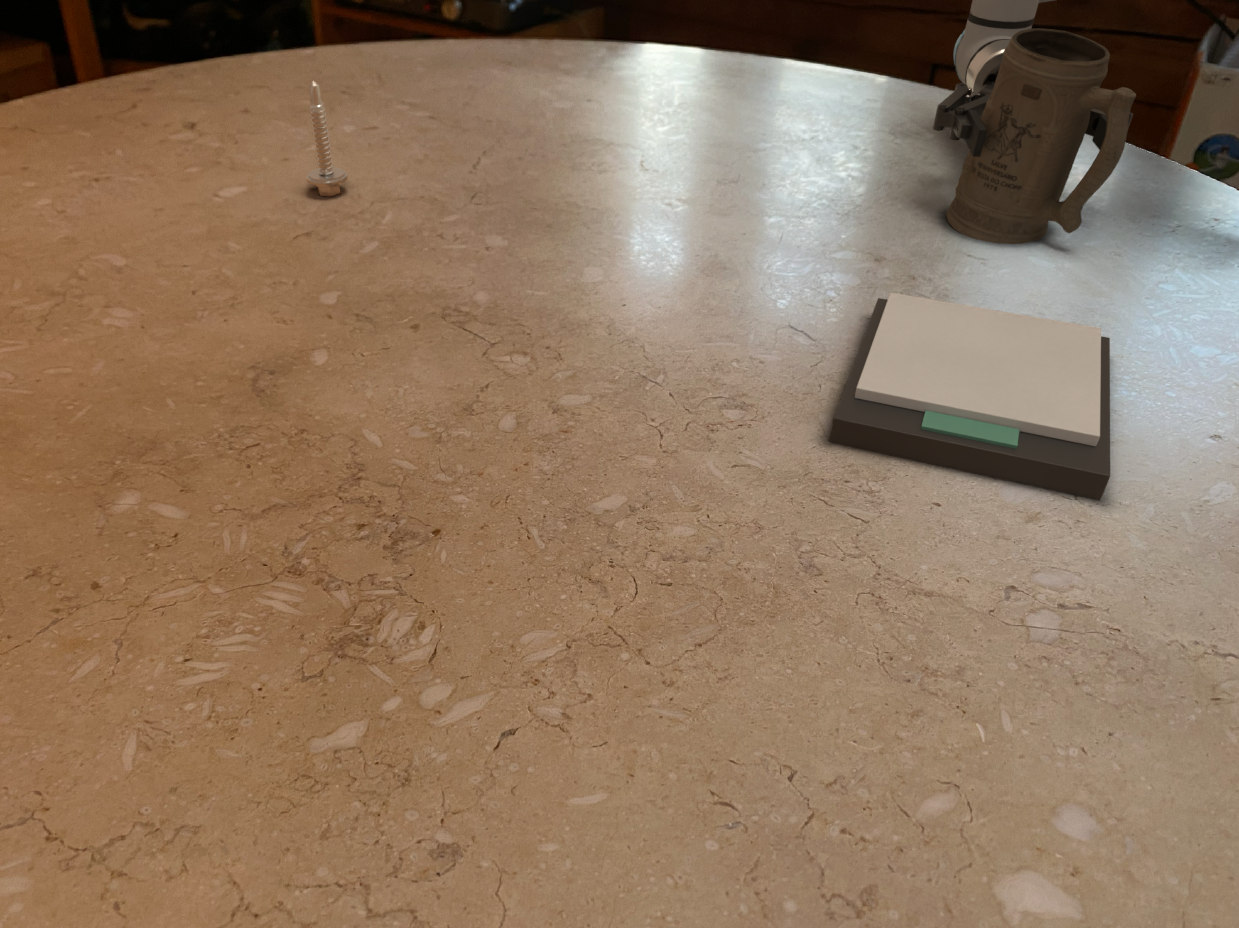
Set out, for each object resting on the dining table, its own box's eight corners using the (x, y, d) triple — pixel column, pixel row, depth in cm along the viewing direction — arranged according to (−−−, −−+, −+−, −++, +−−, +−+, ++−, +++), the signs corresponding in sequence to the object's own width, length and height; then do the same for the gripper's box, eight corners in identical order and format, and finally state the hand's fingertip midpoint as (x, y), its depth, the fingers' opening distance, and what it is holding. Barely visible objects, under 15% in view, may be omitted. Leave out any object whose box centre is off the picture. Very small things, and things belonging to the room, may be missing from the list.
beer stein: (921, 219, 116) (991, 36, 102) (970, 192, 122) (1042, 15, 107) (1045, 282, 109) (1139, 95, 95) (1091, 250, 115) (1186, 69, 100)
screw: (341, 201, 123) (303, 199, 123) (355, 186, 127) (317, 184, 127) (326, 88, 115) (284, 85, 115) (340, 75, 118) (300, 73, 119)
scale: (1098, 367, 93) (1113, 327, 90) (1097, 508, 77) (1115, 464, 74) (872, 326, 99) (880, 287, 96) (827, 449, 83) (835, 407, 80)
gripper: (1105, 120, 123) (1163, 188, 107) (891, 112, 126) (915, 177, 109) (1127, 54, 118) (1190, 113, 102) (904, 46, 121) (930, 103, 104)
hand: (1048, 146), depth 105 cm, fingers open, 13 cm apart
